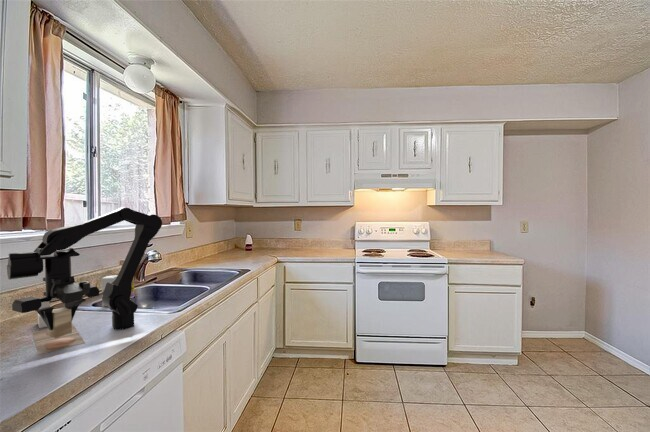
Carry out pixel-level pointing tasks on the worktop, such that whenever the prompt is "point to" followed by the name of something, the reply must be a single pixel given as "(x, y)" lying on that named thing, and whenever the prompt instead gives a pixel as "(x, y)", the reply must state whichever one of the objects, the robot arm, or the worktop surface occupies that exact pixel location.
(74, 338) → the board
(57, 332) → the tan rectangular block
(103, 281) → the skincare box
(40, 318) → the block
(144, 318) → the worktop surface
